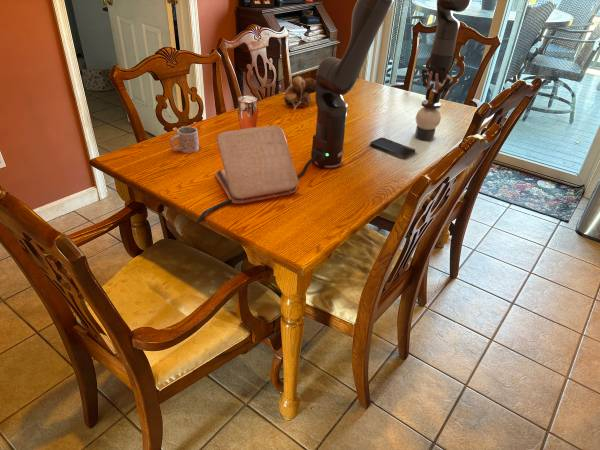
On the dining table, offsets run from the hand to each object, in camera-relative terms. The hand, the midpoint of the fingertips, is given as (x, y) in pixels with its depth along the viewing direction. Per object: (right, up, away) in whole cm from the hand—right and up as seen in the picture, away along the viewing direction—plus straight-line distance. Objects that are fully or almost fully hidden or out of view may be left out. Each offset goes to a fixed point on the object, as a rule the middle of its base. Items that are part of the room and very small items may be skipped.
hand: (431, 101), depth 164 cm
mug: (-87, -20, -11) cm, 90 cm away
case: (-61, -33, -29) cm, 75 cm away
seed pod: (-49, +7, +31) cm, 59 cm away
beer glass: (-67, -15, -2) cm, 68 cm away
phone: (-15, -18, -3) cm, 24 cm away
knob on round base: (0, -1, +1) cm, 2 cm away
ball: (0, -5, +4) cm, 7 cm away
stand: (-1, -12, +8) cm, 14 cm away
